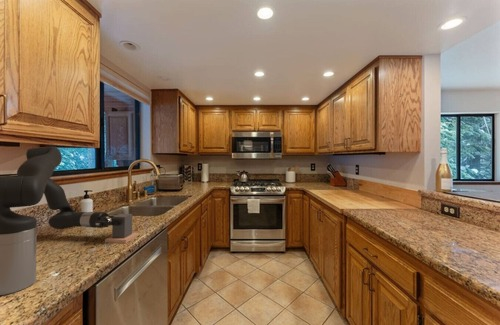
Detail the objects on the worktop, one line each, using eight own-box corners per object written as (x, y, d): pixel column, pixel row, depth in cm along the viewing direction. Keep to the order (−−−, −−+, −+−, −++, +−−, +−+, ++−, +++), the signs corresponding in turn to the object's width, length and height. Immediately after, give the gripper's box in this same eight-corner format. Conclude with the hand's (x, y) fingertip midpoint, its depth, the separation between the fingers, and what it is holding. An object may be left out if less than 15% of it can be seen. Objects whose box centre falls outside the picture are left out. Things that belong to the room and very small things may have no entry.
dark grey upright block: (124, 238, 101) (124, 217, 100) (112, 237, 101) (112, 216, 101) (132, 233, 106) (132, 214, 106) (120, 233, 107) (120, 213, 107)
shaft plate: (125, 243, 98) (126, 222, 98) (105, 242, 99) (105, 222, 99) (138, 235, 108) (138, 217, 108) (119, 235, 109) (119, 216, 109)
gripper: (82, 215, 97) (116, 216, 96) (105, 208, 112) (135, 209, 111) (82, 232, 97) (116, 233, 96) (105, 223, 112) (134, 224, 111)
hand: (126, 220), depth 104 cm, fingers open, 8 cm apart
